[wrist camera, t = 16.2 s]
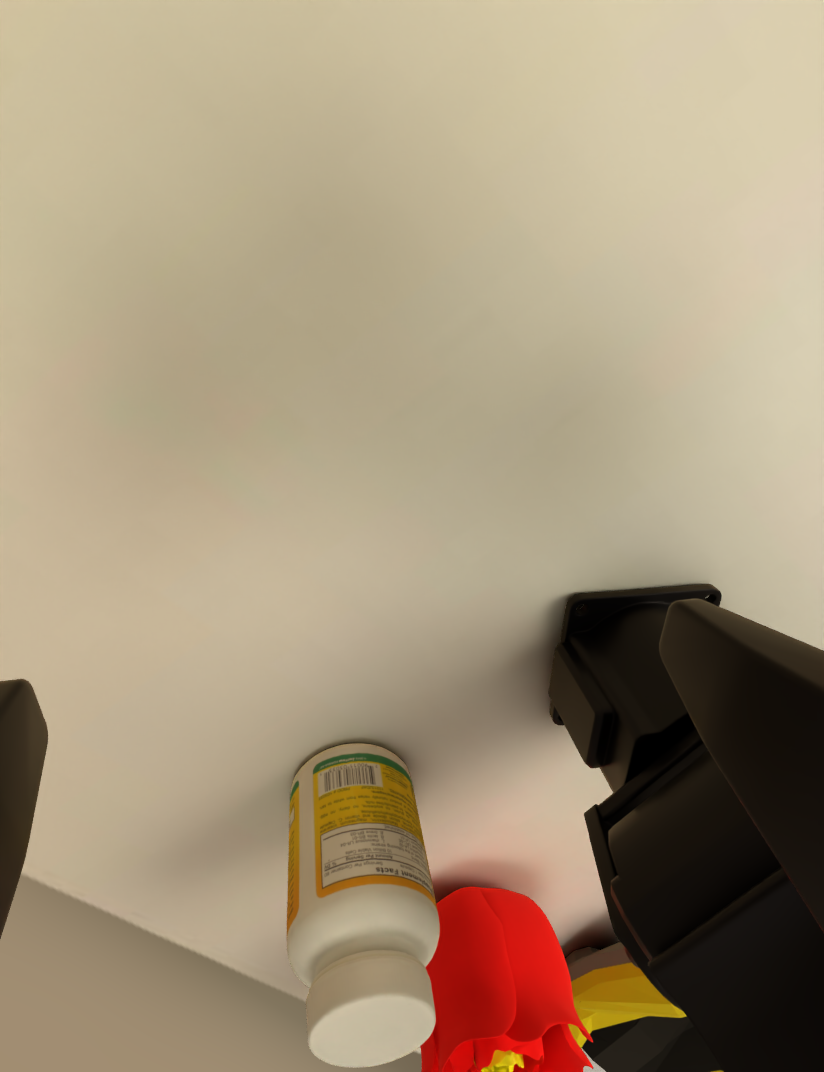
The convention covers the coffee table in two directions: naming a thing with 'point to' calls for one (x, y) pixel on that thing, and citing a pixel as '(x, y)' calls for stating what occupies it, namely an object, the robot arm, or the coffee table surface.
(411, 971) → the supplement bottle
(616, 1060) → the gaming controller
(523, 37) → the coffee table surface
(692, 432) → the coffee table surface
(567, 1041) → the flower
